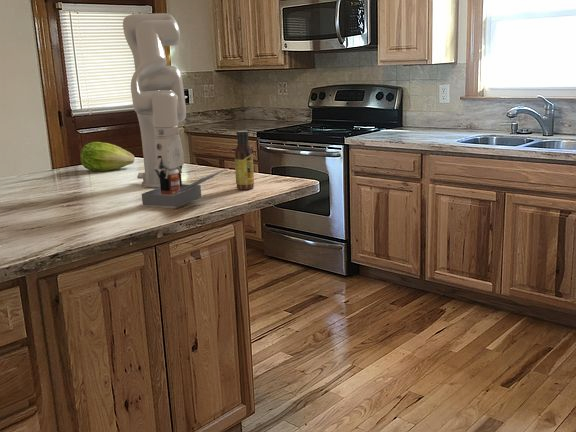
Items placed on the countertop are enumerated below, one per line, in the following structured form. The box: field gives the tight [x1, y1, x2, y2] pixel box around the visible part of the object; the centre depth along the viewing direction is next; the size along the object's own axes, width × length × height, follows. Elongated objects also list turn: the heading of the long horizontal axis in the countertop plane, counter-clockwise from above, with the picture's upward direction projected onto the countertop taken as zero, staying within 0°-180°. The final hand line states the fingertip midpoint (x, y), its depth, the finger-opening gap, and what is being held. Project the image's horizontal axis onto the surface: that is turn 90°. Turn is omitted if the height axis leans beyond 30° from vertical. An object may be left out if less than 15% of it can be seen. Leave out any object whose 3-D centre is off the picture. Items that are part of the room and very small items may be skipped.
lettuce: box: [80, 141, 136, 172], centre depth 261 cm, size 13×22×14 cm
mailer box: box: [141, 183, 202, 209], centre depth 199 cm, size 12×16×4 cm
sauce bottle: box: [234, 130, 255, 191], centre depth 212 cm, size 7×6×20 cm
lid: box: [175, 168, 229, 194], centre depth 193 cm, size 12×16×1 cm
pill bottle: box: [161, 167, 180, 195], centre depth 198 cm, size 6×6×11 cm
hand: (171, 187), depth 198 cm, fingers closed on pill bottle, 6 cm apart
